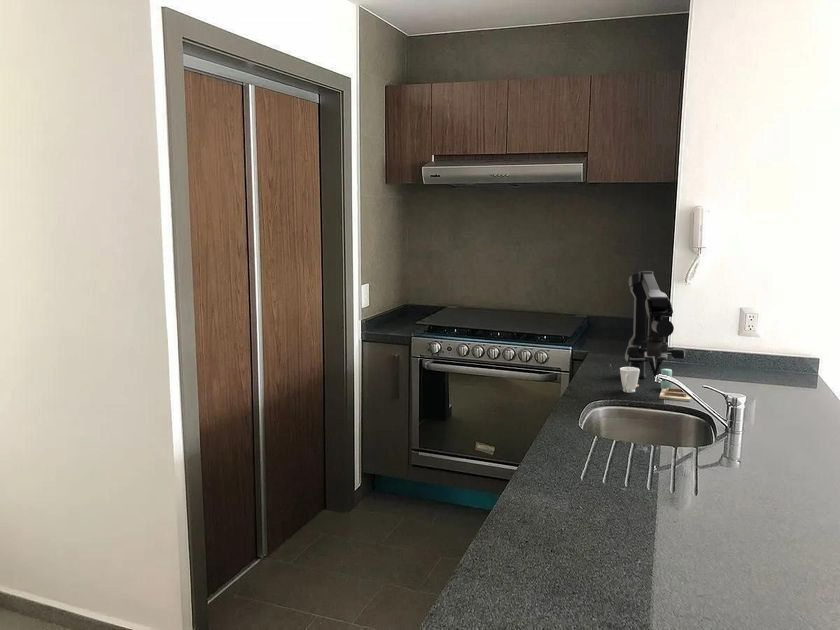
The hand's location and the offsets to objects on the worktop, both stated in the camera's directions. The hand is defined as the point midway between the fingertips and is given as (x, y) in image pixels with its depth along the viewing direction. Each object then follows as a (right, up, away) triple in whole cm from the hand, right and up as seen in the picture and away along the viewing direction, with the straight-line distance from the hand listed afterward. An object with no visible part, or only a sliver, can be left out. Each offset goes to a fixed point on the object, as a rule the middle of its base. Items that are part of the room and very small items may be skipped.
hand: (655, 375), depth 245 cm
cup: (-8, -6, +4) cm, 11 cm away
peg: (+6, -5, +8) cm, 11 cm away
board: (+6, -7, -2) cm, 10 cm away
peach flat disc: (-4, -5, +13) cm, 14 cm away
